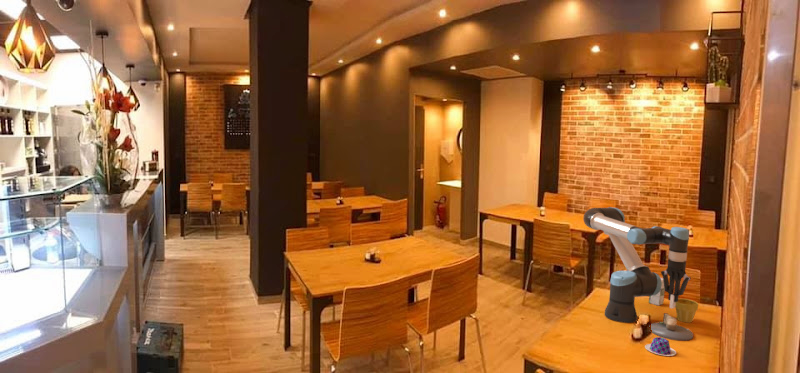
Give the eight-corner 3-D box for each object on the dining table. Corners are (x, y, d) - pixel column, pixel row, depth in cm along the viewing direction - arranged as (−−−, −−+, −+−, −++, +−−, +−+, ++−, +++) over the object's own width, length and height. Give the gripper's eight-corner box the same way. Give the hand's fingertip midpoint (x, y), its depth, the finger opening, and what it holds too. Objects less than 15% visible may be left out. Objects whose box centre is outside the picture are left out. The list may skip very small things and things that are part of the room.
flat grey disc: (662, 340, 221) (662, 336, 221) (642, 325, 239) (642, 321, 239) (701, 341, 221) (701, 336, 221) (678, 325, 239) (678, 321, 239)
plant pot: (676, 322, 243) (678, 303, 243) (670, 315, 253) (671, 297, 253) (699, 325, 241) (701, 306, 240) (692, 317, 251) (694, 299, 250)
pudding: (645, 343, 218) (646, 331, 217) (676, 349, 212) (677, 338, 211) (643, 352, 208) (644, 341, 207) (675, 360, 202) (676, 347, 201)
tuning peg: (677, 330, 228) (678, 320, 227) (668, 329, 228) (668, 319, 228) (669, 323, 237) (670, 313, 237) (660, 322, 238) (661, 312, 237)
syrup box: (652, 301, 276) (654, 276, 275) (663, 304, 272) (665, 278, 270) (648, 303, 273) (650, 277, 271) (659, 306, 268) (661, 280, 267)
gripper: (695, 262, 228) (690, 310, 231) (666, 255, 239) (662, 302, 242) (688, 264, 224) (682, 313, 227) (659, 257, 234) (654, 304, 237)
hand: (672, 307), depth 234 cm, fingers closed
